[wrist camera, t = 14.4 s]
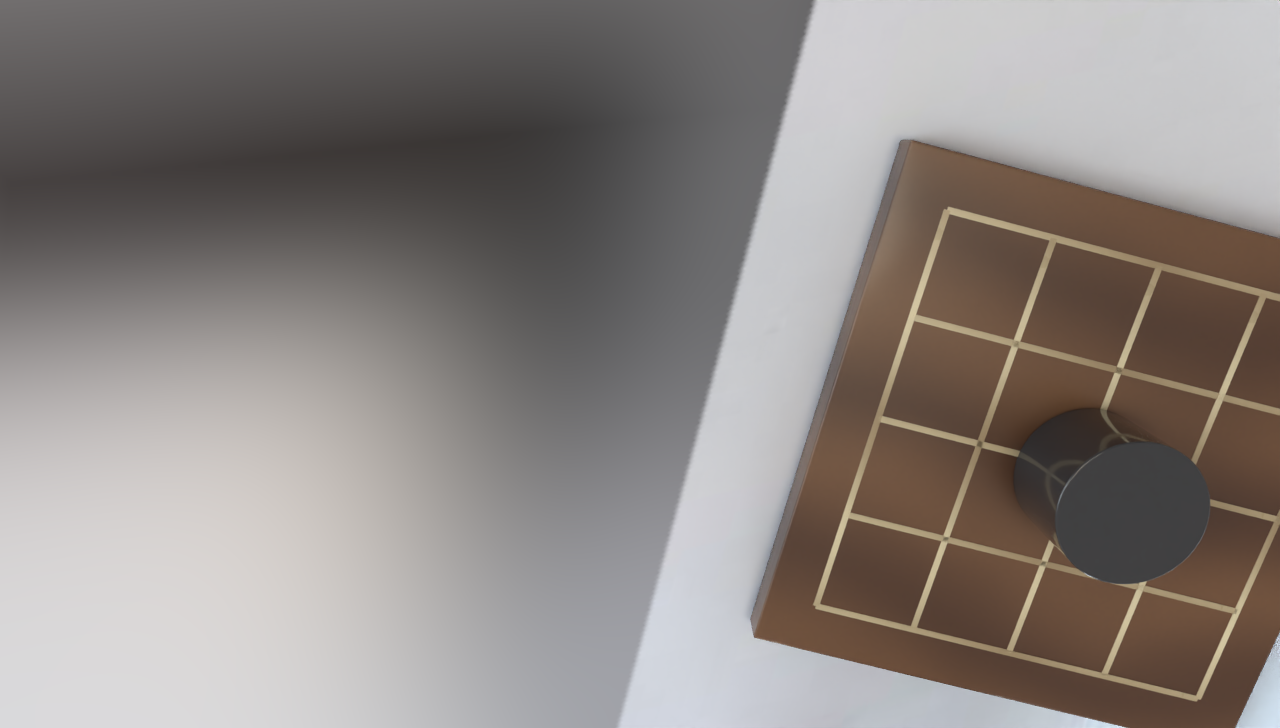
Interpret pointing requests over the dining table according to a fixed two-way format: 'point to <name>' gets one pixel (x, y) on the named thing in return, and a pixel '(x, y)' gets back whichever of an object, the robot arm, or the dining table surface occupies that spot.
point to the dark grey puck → (1111, 495)
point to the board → (1003, 421)
